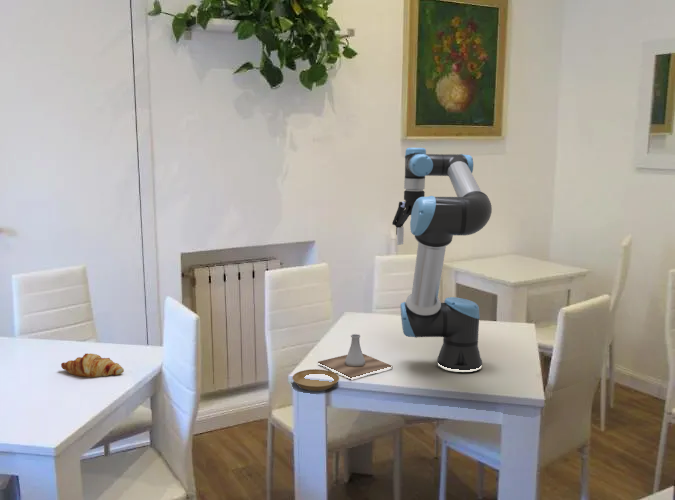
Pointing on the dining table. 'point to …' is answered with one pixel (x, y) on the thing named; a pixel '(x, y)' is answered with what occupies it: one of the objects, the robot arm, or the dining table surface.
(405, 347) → the dining table surface
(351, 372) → the walnut board
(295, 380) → the plant saucer
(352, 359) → the flask
